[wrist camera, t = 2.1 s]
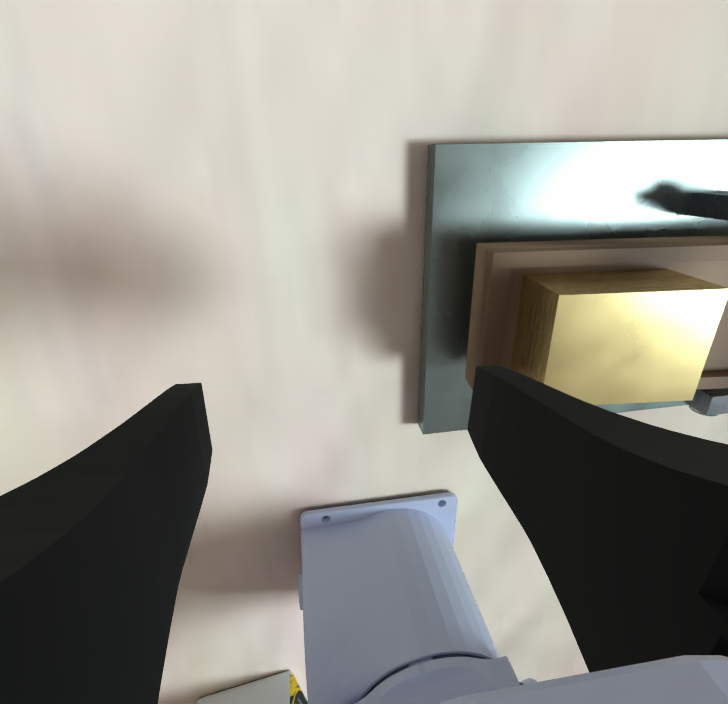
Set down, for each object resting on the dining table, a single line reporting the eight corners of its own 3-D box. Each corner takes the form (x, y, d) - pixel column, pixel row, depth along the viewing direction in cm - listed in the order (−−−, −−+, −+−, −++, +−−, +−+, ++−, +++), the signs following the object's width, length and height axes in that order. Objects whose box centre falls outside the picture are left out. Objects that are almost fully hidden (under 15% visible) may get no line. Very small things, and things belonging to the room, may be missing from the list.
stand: (418, 423, 24) (448, 485, 19) (428, 145, 18) (474, 139, 13) (824, 379, 27) (930, 422, 23) (941, 136, 22) (1113, 129, 17)
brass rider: (510, 371, 19) (539, 407, 16) (523, 273, 17) (558, 295, 14) (641, 366, 19) (692, 400, 16) (667, 268, 17) (730, 288, 15)
